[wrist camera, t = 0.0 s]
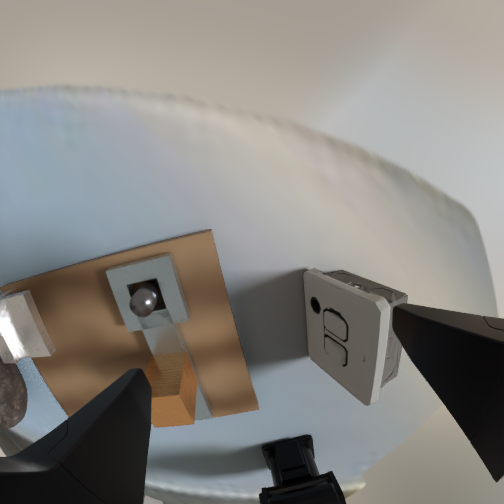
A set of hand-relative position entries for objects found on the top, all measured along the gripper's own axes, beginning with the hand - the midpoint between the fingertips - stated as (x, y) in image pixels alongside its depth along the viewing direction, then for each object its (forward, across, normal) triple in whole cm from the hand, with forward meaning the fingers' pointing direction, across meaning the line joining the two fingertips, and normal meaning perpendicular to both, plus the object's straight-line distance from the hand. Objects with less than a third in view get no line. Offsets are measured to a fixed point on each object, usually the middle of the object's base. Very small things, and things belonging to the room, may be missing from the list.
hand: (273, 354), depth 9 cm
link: (+13, +8, +7) cm, 17 cm away
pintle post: (+14, +8, +1) cm, 16 cm away
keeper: (+14, +22, +1) cm, 26 cm away
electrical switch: (+15, -7, +7) cm, 18 cm away
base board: (+15, +14, +7) cm, 22 cm away
